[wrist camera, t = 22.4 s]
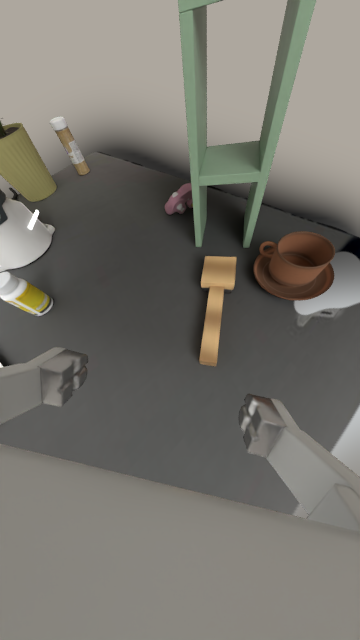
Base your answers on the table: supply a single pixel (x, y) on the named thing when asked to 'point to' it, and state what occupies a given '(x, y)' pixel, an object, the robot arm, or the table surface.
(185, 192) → the video game controller
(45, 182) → the potted cactus
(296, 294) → the cup and saucer
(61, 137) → the sprinkles bottle
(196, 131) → the sage stand
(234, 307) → the table surface
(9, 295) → the supplement bottle
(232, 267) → the desk brush
